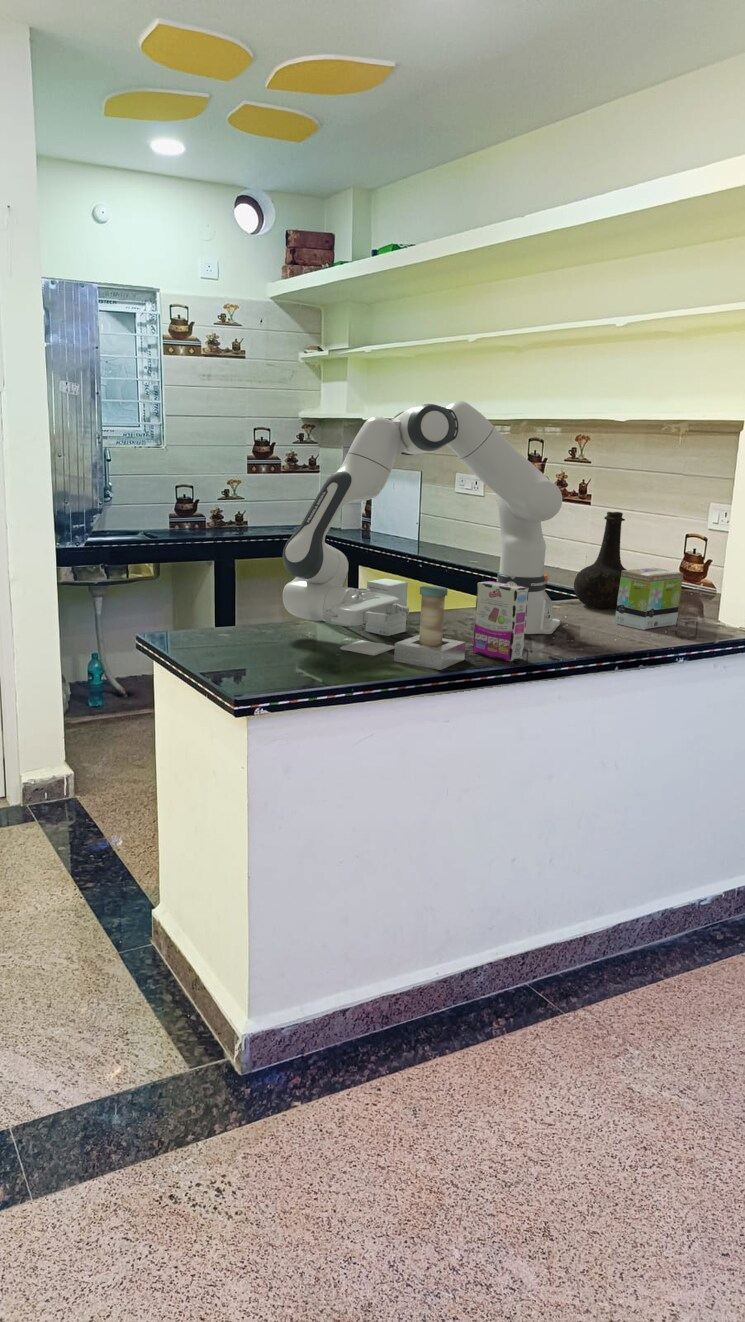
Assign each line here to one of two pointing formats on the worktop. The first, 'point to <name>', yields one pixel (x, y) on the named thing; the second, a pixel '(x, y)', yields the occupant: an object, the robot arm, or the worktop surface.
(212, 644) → the worktop surface
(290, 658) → the worktop surface
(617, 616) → the tea box
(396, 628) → the supplement box
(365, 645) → the white mat
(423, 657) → the metal collar
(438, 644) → the birch stopper
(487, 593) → the candy bar box
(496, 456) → the robot arm
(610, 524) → the glass bottle
